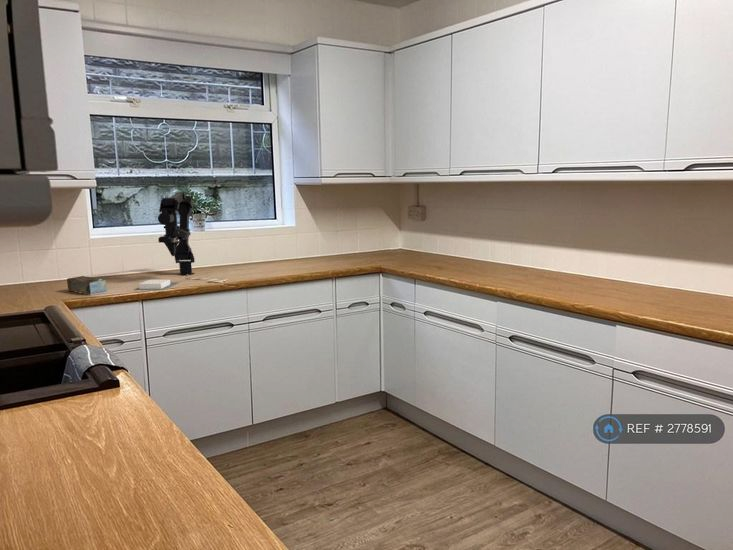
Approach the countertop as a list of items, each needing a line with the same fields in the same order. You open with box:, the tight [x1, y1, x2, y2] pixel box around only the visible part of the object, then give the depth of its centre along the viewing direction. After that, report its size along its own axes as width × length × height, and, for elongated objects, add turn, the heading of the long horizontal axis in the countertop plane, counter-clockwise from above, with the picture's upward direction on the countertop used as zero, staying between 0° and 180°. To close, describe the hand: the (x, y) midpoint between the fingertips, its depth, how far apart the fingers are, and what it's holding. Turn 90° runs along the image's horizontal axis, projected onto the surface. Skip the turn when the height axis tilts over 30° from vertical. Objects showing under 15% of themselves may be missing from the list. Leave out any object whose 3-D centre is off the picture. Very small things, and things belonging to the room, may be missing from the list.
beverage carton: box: [66, 275, 108, 294], centre depth 260 cm, size 8×19×7 cm, turn 54°
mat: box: [134, 281, 181, 291], centre depth 270 cm, size 20×14×1 cm
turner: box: [185, 277, 229, 284], centre depth 284 cm, size 22×7×1 cm, turn 69°
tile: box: [138, 279, 171, 291], centre depth 266 cm, size 2×10×11 cm
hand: (173, 255), depth 286 cm, fingers closed
